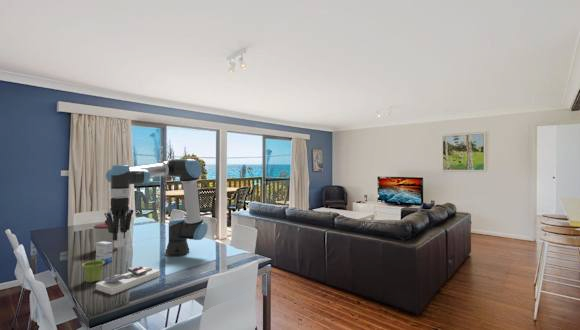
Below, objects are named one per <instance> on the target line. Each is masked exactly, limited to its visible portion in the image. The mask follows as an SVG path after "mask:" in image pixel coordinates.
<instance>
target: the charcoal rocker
mask: <svg viewBox="0 0 580 330" xmlns="http://www.w3.org/2000/svg"><path fill="white" fill-rule="evenodd" d="M127 271H128V272H131V273H133V275H137V276H140V275H143V274H145V273H147V270H145V269H144V268H143V267H142V266H139V265H138V264H136V265H133V266H131V267H128V268H127Z"/></svg>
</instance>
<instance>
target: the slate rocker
mask: <svg viewBox="0 0 580 330" xmlns="http://www.w3.org/2000/svg"><path fill="white" fill-rule="evenodd" d="M124 278H125V275H122V274H119V273H117V274H115V275H112V276H108V277H106V278H104V279H103V281H104V282H110V283H113V282H116V281H119V280H122V279H124Z"/></svg>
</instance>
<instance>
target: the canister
mask: <svg viewBox="0 0 580 330" xmlns="http://www.w3.org/2000/svg"><path fill="white" fill-rule="evenodd" d="M91 229H92V230H93V231H92V232H93V240H94V246H95V249H96V243H98V242H102V241H105V242H112V243H113V251H114V250H117V249H118V248H117V247H114V240H113V233H109V232H108V226H107V219H105V221H104V222H102V223H98V224H95V225H94V226H92V227H91ZM119 232H121V231H120V222H119V226H118V233H119Z"/></svg>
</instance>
